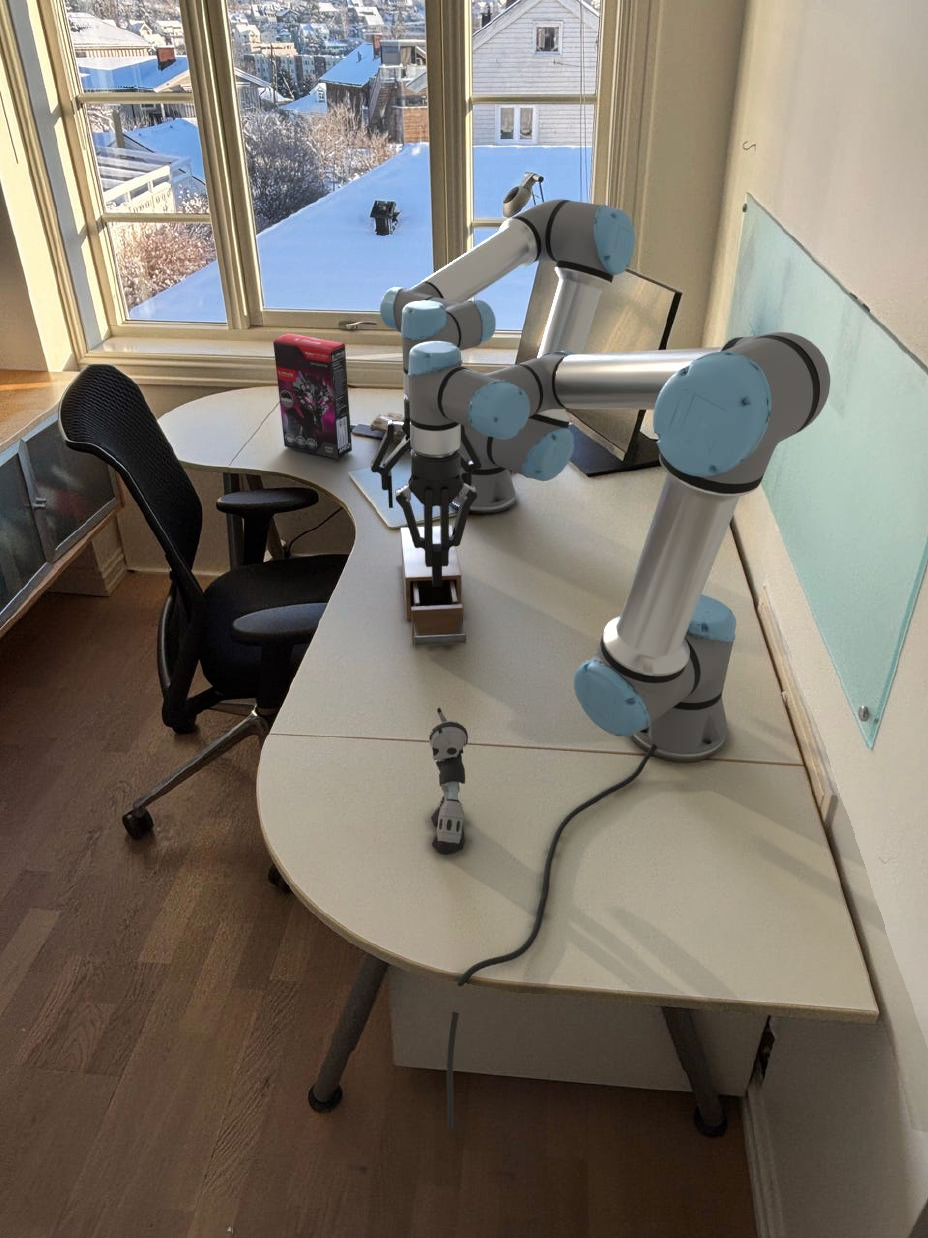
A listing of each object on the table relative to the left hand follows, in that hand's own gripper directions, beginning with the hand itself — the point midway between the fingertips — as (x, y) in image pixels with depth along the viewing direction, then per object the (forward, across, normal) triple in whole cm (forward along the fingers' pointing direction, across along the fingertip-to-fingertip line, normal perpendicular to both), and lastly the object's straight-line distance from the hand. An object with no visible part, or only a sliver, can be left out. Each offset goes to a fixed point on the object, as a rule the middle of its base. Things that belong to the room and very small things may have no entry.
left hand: (426, 503), depth 174 cm
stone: (+15, +1, -65) cm, 67 cm away
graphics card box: (+15, +24, -62) cm, 68 cm away
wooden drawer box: (+15, 0, +7) cm, 17 cm away
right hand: (+1, 0, +27) cm, 27 cm away
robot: (+15, +2, +68) cm, 70 cm away
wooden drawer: (+14, 0, +20) cm, 25 cm away
